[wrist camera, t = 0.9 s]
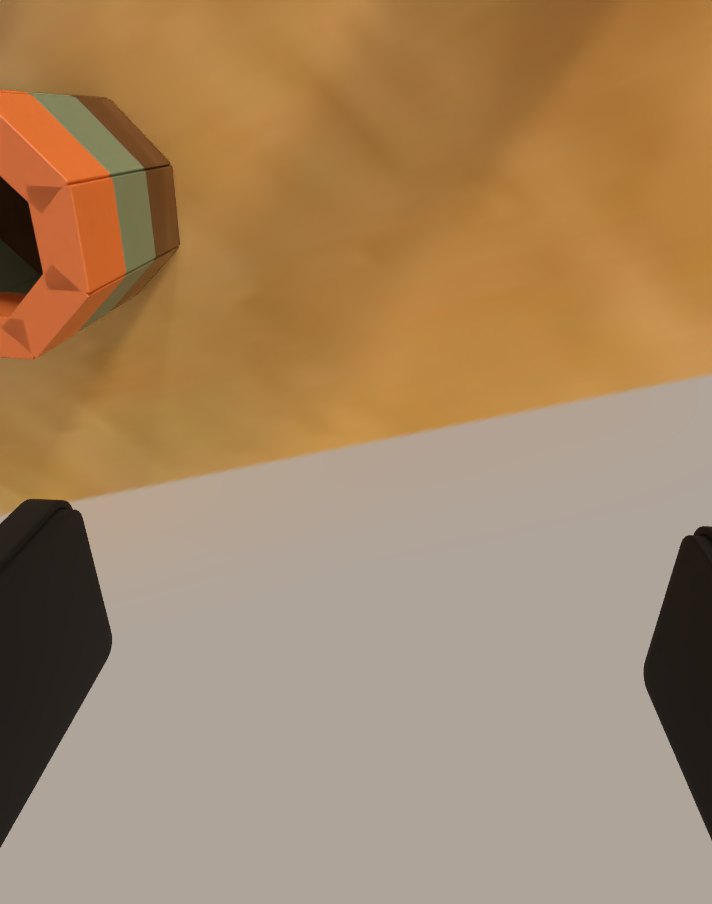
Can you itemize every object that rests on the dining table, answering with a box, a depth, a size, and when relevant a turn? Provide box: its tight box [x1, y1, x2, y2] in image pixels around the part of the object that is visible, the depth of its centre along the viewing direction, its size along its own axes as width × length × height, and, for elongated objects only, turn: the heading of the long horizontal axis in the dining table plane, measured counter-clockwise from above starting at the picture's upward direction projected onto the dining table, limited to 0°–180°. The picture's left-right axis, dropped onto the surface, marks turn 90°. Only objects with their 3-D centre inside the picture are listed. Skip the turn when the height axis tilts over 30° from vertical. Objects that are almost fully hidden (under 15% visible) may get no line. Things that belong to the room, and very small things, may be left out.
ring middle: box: [0, 92, 156, 331], centre depth 31 cm, size 11×11×4 cm
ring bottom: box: [0, 95, 180, 311], centre depth 35 cm, size 11×11×4 cm
